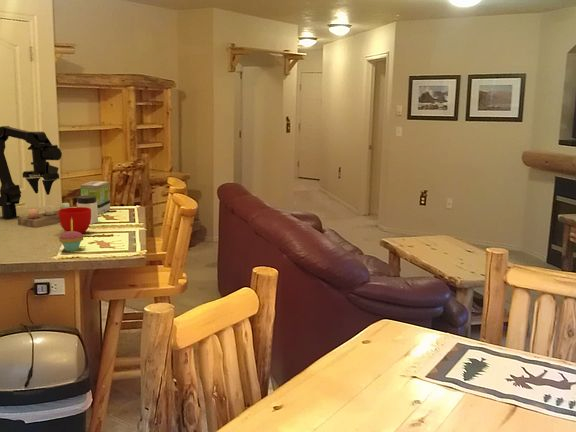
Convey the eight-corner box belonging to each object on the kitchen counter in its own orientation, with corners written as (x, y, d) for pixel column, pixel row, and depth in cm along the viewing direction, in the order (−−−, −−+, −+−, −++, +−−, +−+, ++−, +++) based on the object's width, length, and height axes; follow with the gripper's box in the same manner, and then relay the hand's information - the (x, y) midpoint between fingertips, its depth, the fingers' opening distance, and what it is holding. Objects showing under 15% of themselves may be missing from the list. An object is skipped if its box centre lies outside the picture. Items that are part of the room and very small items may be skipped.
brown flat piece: (18, 224, 269) (17, 218, 268) (64, 215, 290) (63, 209, 289) (35, 227, 262) (34, 220, 262) (81, 218, 284) (80, 211, 283)
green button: (59, 212, 282) (58, 203, 281) (66, 210, 285) (65, 202, 285) (64, 213, 280) (64, 204, 279) (71, 211, 283) (71, 203, 282)
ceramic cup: (79, 227, 264) (78, 204, 262) (97, 233, 252) (96, 210, 250) (50, 231, 255) (48, 208, 253) (68, 238, 243) (66, 214, 241)
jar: (100, 223, 273) (99, 197, 270) (83, 225, 267) (81, 199, 265) (93, 220, 279) (91, 194, 277) (75, 222, 274) (74, 196, 272)
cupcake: (63, 247, 229) (61, 216, 227) (86, 246, 230) (84, 216, 227) (57, 252, 221) (54, 220, 218) (80, 252, 221) (78, 220, 219)
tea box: (101, 215, 291) (100, 185, 288) (81, 215, 291) (79, 184, 289) (111, 209, 306) (109, 180, 303) (91, 209, 306) (89, 180, 303)
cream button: (43, 215, 275) (42, 206, 274) (50, 213, 278) (50, 205, 277) (49, 216, 273) (48, 207, 272) (56, 214, 276) (56, 206, 275)
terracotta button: (27, 218, 268) (26, 209, 267) (34, 216, 271) (34, 208, 270) (32, 219, 266) (32, 210, 265) (40, 217, 269) (40, 208, 268)
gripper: (68, 159, 273) (70, 193, 276) (41, 157, 283) (44, 190, 286) (47, 161, 264) (50, 196, 267) (20, 159, 273) (23, 193, 276)
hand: (42, 193), depth 274 cm, fingers open, 8 cm apart
